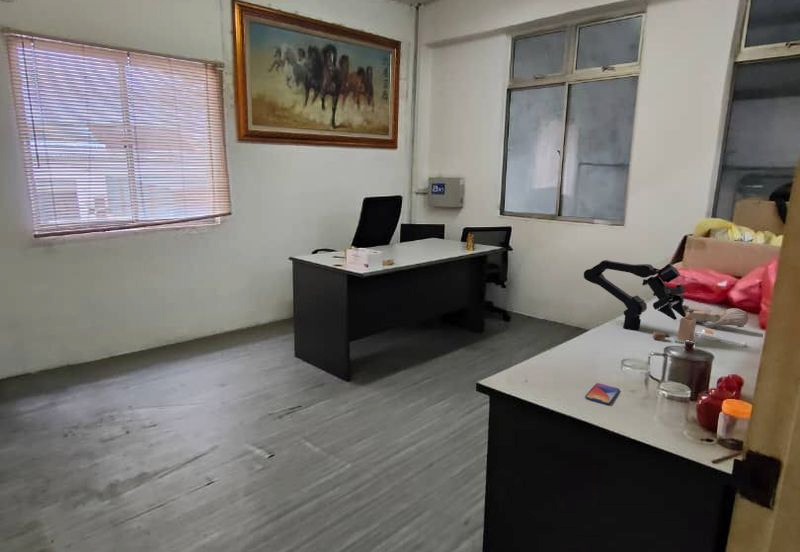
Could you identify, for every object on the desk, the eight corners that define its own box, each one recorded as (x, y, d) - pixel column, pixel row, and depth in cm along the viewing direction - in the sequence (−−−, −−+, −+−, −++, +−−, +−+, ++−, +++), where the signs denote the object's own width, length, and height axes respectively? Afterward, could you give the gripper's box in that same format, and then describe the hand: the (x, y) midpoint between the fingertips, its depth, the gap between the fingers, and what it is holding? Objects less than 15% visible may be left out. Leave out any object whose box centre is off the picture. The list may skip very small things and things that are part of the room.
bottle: (677, 339, 215) (682, 309, 212) (681, 337, 217) (686, 307, 215) (688, 342, 211) (693, 311, 208) (692, 340, 214) (698, 310, 211)
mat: (674, 342, 213) (675, 340, 212) (674, 337, 220) (674, 336, 220) (696, 346, 209) (696, 344, 209) (694, 341, 216) (694, 339, 216)
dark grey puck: (654, 335, 221) (654, 335, 221) (654, 332, 227) (654, 331, 227) (669, 338, 219) (669, 337, 219) (668, 334, 224) (668, 334, 224)
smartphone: (620, 391, 158) (620, 388, 158) (609, 406, 146) (609, 403, 146) (596, 385, 162) (596, 382, 162) (583, 399, 150) (584, 396, 150)
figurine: (674, 328, 250) (745, 338, 230) (673, 307, 245) (746, 316, 226) (680, 317, 257) (749, 326, 238) (680, 297, 253) (750, 305, 233)
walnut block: (654, 340, 215) (655, 333, 214) (652, 337, 219) (653, 331, 218) (664, 341, 214) (665, 335, 213) (662, 339, 217) (663, 332, 217)
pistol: (749, 343, 219) (744, 348, 211) (699, 332, 232) (692, 336, 224) (751, 338, 218) (745, 343, 210) (700, 327, 232) (693, 331, 224)
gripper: (664, 280, 210) (687, 311, 204) (683, 277, 221) (705, 306, 215) (643, 294, 218) (664, 324, 211) (662, 290, 229) (683, 318, 223)
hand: (680, 318), depth 215 cm, fingers open, 9 cm apart
